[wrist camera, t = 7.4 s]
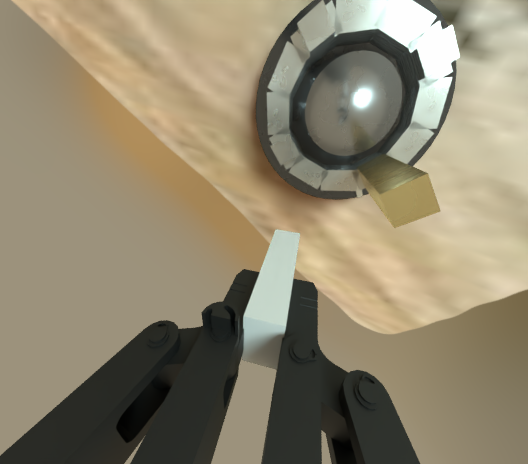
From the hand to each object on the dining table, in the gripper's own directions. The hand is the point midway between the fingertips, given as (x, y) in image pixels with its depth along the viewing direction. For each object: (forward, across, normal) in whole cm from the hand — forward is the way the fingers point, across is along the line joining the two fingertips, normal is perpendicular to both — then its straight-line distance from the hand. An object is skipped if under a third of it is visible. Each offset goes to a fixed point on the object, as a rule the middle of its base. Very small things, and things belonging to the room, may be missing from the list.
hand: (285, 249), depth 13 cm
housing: (+16, +3, +8) cm, 18 cm away
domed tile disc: (+13, +3, +8) cm, 16 cm away
